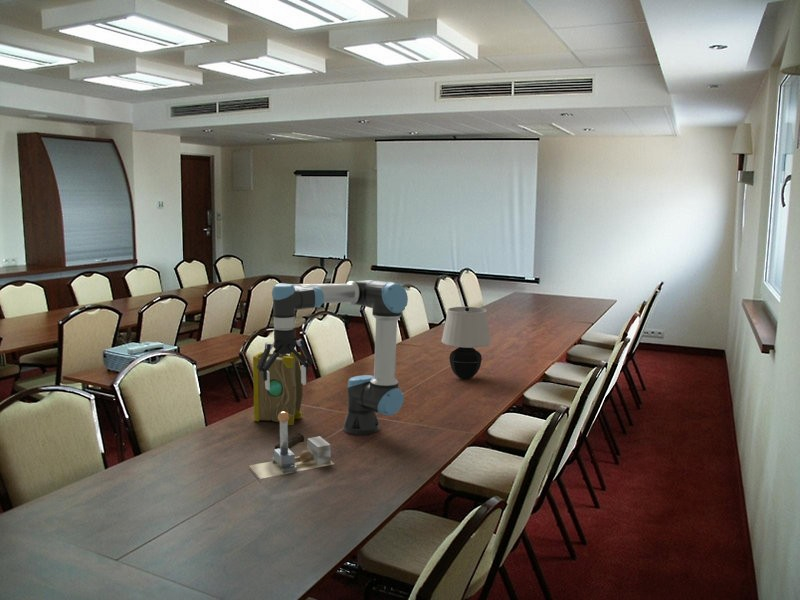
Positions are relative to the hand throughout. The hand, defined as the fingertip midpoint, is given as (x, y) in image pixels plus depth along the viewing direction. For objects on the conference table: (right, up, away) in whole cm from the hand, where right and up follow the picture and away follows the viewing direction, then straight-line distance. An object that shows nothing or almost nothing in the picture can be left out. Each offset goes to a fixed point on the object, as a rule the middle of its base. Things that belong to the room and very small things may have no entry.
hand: (285, 386), depth 238 cm
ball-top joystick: (-1, -29, +2) cm, 29 cm away
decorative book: (-13, -22, +57) cm, 63 cm away
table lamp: (+77, -13, +129) cm, 151 cm away
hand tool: (-3, -28, +22) cm, 36 cm away
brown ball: (+6, -29, +7) cm, 30 cm away
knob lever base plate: (+2, -30, +4) cm, 31 cm away
